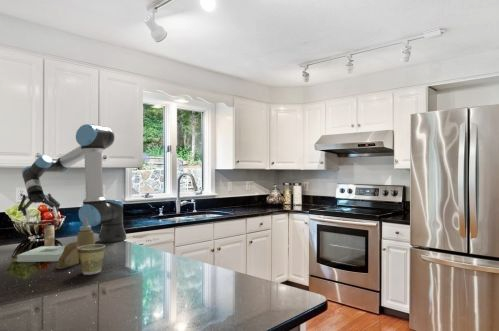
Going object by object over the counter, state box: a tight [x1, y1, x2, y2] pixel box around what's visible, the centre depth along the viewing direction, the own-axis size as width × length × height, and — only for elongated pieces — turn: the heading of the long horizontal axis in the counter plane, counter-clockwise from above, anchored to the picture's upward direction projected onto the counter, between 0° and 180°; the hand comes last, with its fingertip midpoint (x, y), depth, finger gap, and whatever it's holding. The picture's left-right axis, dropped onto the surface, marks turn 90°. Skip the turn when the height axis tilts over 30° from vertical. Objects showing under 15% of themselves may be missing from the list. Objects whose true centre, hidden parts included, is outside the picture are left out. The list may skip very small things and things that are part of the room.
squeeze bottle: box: [76, 218, 96, 256], centre depth 165 cm, size 8×8×18 cm
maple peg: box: [43, 224, 55, 246], centre depth 186 cm, size 4×4×12 cm
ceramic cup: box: [77, 243, 106, 276], centre depth 143 cm, size 13×10×10 cm
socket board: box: [16, 245, 66, 263], centre depth 169 cm, size 18×18×3 cm
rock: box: [55, 241, 80, 270], centre depth 152 cm, size 11×9×10 cm
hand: (42, 218), depth 194 cm, fingers open, 13 cm apart
